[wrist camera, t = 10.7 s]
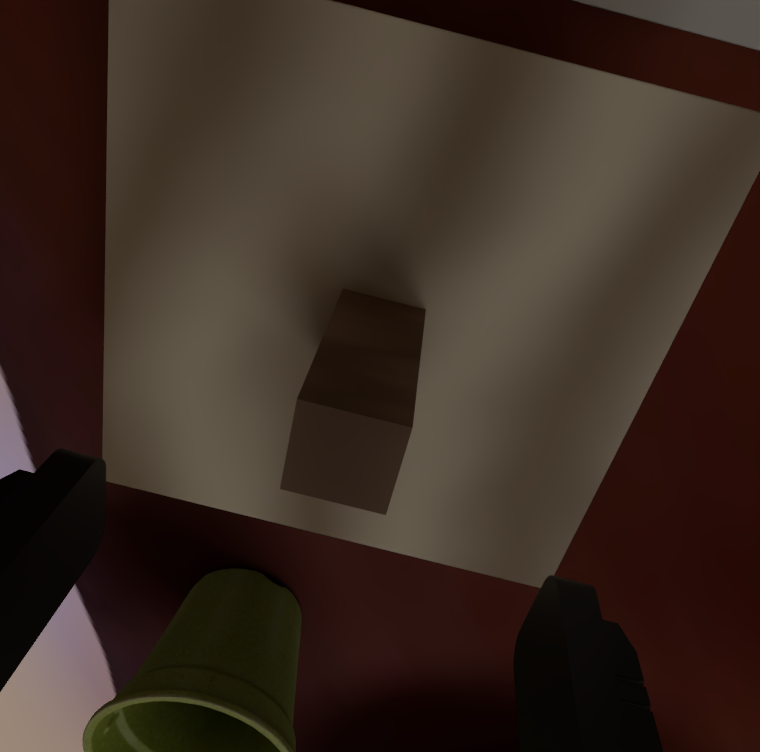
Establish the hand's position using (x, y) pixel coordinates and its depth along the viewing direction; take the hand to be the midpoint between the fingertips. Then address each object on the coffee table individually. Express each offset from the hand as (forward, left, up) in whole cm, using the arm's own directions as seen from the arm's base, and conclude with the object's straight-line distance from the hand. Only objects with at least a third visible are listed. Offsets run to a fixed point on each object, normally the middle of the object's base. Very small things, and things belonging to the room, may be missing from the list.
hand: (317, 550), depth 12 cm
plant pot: (+3, +21, -16) cm, 26 cm away
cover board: (0, 0, -9) cm, 9 cm away
